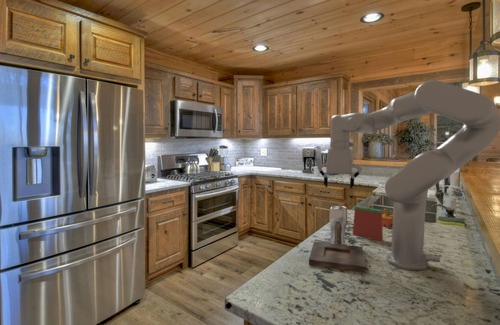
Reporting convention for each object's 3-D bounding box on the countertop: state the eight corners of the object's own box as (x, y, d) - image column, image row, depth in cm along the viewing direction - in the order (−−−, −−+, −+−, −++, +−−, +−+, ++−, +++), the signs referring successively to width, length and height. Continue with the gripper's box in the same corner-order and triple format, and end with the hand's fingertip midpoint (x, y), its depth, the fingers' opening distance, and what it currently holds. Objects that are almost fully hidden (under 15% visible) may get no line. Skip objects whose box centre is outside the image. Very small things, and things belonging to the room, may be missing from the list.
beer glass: (343, 247, 109) (344, 210, 108) (326, 243, 114) (327, 207, 113) (348, 242, 115) (349, 207, 114) (332, 239, 119) (333, 204, 118)
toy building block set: (352, 234, 126) (353, 203, 125) (381, 219, 151) (382, 194, 150) (381, 241, 117) (382, 208, 116) (406, 224, 142) (407, 197, 141)
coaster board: (362, 252, 105) (362, 246, 105) (366, 273, 88) (366, 266, 88) (313, 246, 111) (314, 241, 110) (308, 264, 94) (308, 259, 93)
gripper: (362, 145, 113) (360, 187, 114) (318, 145, 118) (317, 185, 119) (363, 146, 105) (361, 190, 107) (317, 145, 111) (316, 187, 112)
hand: (338, 187), depth 113 cm, fingers open, 9 cm apart
